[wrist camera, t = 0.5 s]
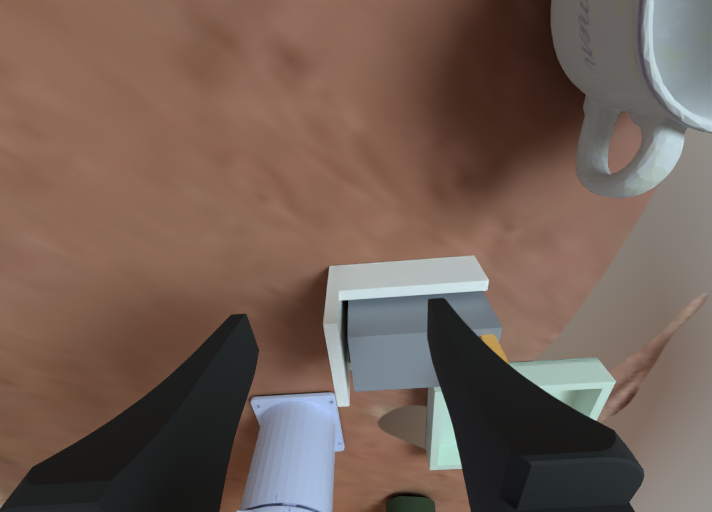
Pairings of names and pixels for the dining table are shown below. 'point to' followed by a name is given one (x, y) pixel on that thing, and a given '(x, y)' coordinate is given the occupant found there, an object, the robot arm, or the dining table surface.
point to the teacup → (636, 82)
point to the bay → (387, 283)
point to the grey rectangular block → (408, 338)
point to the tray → (557, 377)
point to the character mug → (410, 504)
